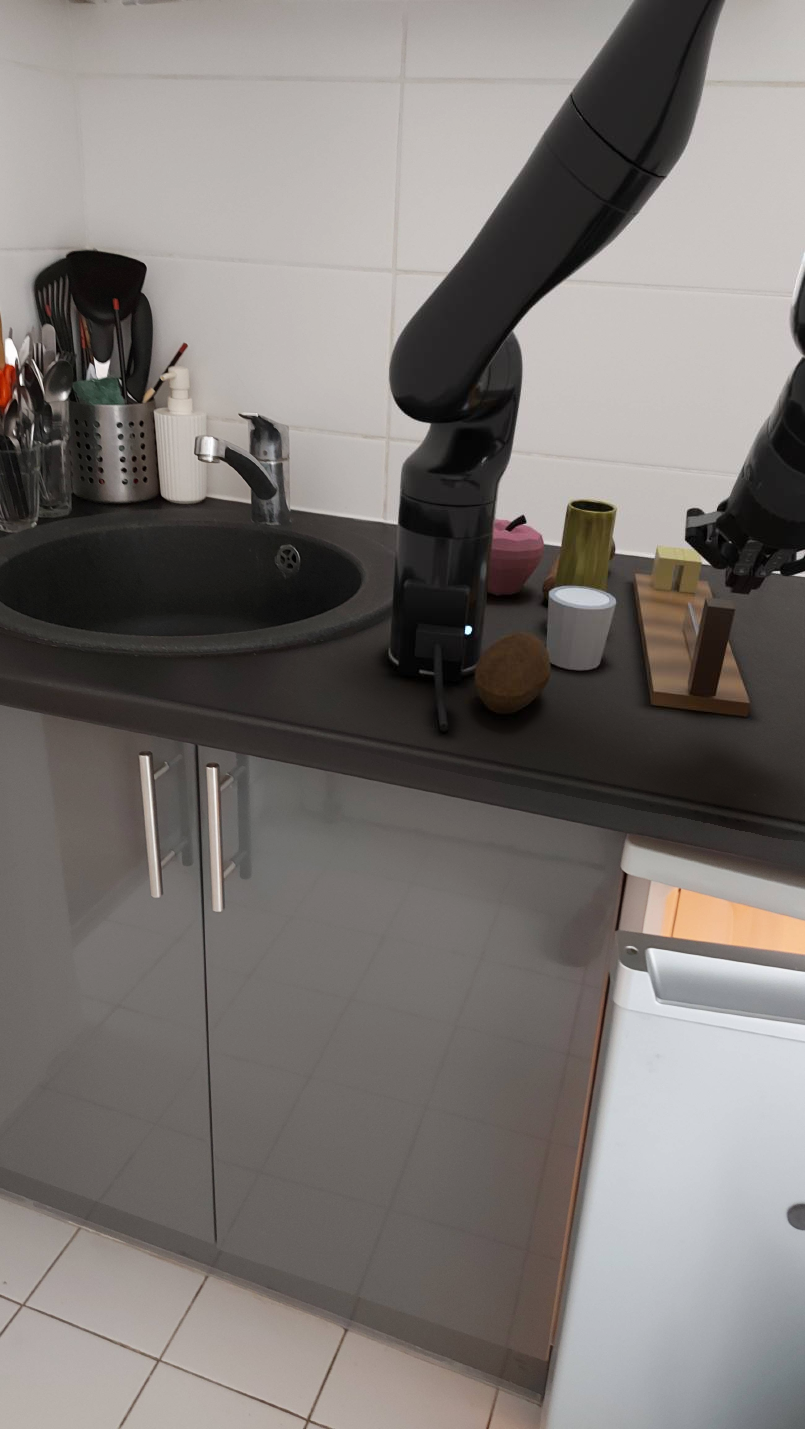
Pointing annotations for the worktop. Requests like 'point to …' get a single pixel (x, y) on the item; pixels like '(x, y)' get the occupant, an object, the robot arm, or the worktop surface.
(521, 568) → the apple
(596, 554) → the vase
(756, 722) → the worktop surface
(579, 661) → the white cup
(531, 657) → the potato
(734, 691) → the cutting board
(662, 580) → the yellow slotted block
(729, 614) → the dark brown upright post
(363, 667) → the worktop surface
